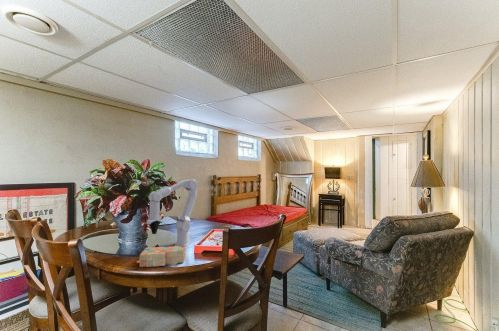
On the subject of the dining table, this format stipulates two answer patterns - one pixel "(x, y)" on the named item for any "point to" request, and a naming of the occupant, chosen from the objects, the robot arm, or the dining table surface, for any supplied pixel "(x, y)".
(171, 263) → the mat
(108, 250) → the dining table surface
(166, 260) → the stack of blocks
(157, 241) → the dining table surface
